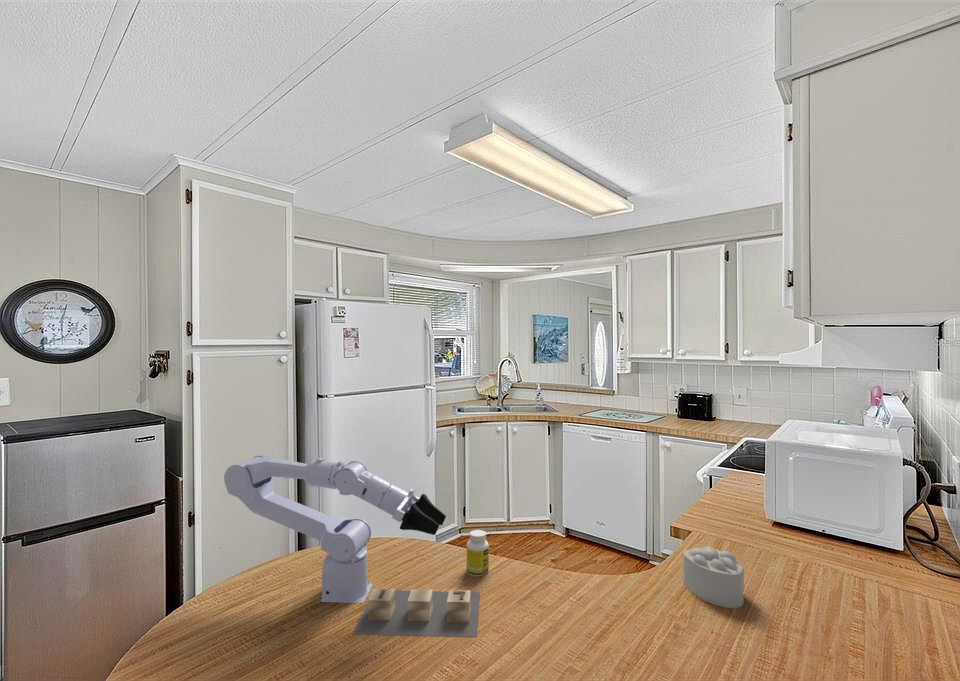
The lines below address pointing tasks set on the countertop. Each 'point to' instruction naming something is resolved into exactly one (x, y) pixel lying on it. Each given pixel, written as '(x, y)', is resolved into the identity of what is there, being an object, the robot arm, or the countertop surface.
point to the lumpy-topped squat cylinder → (714, 576)
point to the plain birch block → (420, 605)
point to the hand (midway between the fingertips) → (440, 525)
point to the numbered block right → (459, 606)
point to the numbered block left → (381, 604)
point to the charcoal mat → (421, 628)
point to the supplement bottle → (477, 553)
